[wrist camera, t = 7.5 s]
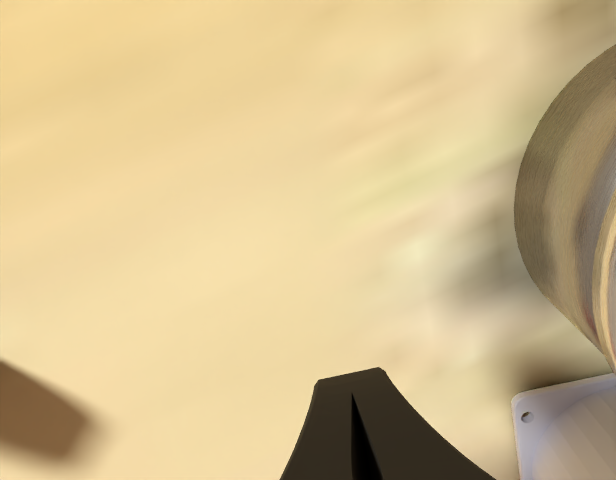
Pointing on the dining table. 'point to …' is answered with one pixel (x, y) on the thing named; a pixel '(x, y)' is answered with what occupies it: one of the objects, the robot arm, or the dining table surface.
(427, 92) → the dining table surface
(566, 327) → the dining table surface
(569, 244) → the cooker pot
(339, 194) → the dining table surface
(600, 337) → the cooker lid
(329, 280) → the dining table surface
